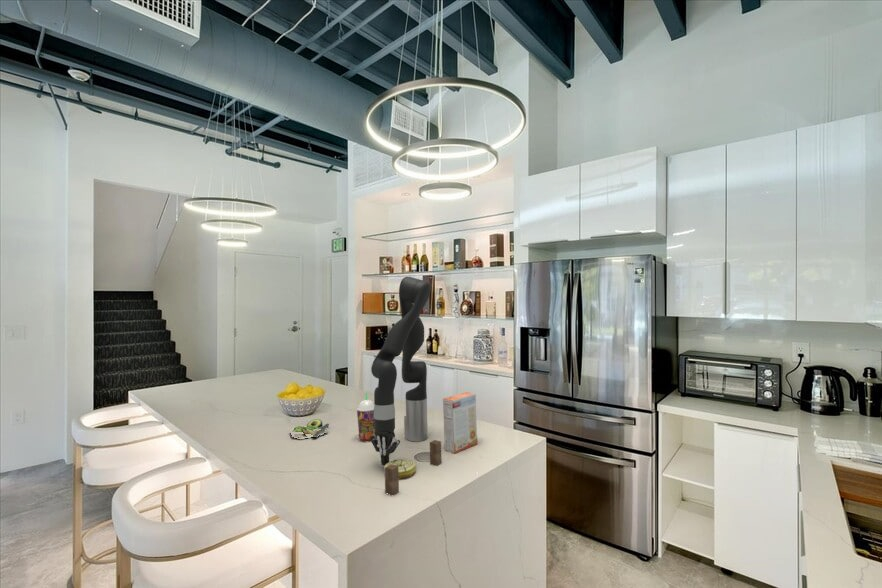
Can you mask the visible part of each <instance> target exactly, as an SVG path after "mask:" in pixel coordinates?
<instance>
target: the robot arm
mask: <svg viewBox="0 0 882 588" xmlns="http://www.w3.org/2000/svg"><path fill="white" fill-rule="evenodd" d="M430 294H431V283H429V281H426V280H423V279H419V278H417V277H413V276H404V277H403V278H402V279H401V280H400V284H399V288H398V299H399V305H400V306H399V307H400V313H401V319H399V320H398V321H397V322H396V323H394V324H393V326H392V327H391V328H390V330H389V332H388V333H387V335H386V338H385V341H384V343H383V346H382V347H381V349H379V352H378V353H377V355H376V356H375V358H374V360H373V362H372V363H371V367H370V368H371V369H370V371H371V375H373V377H374V378H375V379H378V384H377V386H376V387H375V389H374V393H373V403H374V430H375V433H374V435H373V436H371V437H370V440H371V441H370V442H371V444H372V446H373V448H374V449H375V451H376V453H379V454H380V463H381V465H382V466H383V467H385V465H386V464H387V463H388V462H390V455H391V454H393V453H394V452H395V451H396V449H397V448H398V447H399V445H400V444H401V441H400V440H399V439H397V438H396V435H395V429H396V407H395V392H394V391H395V388H396V383H397V378H398V377H397V376H398V371H397V370H398V369H397V367H396V365H395V364H394V363H393V362H394V360H395V358H396V357H400V355H401V354H402V358H401V359H402V360H401V379H402V381H403V383H405V384H417V386H416V387H414V388H411V389H409V390H408V391H406V392H405V415H404V418H403V425H404V426H403V427H404V428H403V429H404V430H403V432H404V433H403V434H404V439H406V441H410V442H422V441H426V440H427V439H428V402H427V401H428V397H427V395H428V394H427V380H428V379H427V377H428V373H427V372H428V368H427V363H426V362H425V361H423V360H421V361H420V360H419V361H417V360H416V361H412V359H413V358H414V356H415V355H416V353H417V352H419V350H420V349H421V347H422V346H423V344H424V343H425V326H424V325H425V324H424V323H423V320H422V319H421V318H420V315H421V314H422V312H423V310H424V307H425V306H426V304H427V302H428V301H429V298H430Z"/></svg>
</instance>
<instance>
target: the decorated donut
mask: <svg viewBox="0 0 882 588" xmlns="http://www.w3.org/2000/svg"><path fill="white" fill-rule="evenodd" d="M390 464H392V465H396V466H398V474H399V479H407V478H409V477H411V476H412V475H413V474H414V473H415V471H416V469H417V467H416V462H415V461H414V460H412V459H409V458H397V459H393V460H391V461H390V460H389V462H388V463H387V464H386V465H385V466H383V467H384V468H383V470H384V472H385V467H387V466H389V465H390Z"/></svg>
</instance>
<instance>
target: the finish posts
mask: <svg viewBox="0 0 882 588" xmlns="http://www.w3.org/2000/svg"><path fill="white" fill-rule="evenodd" d="M442 463H443V462H442V441H441V440H436V439H433V440H431V441H430V442H429V465H431V466H435V467H438V466H440V465H441V464H442ZM384 467H385V466H384ZM399 480H400V478H399V474H398V466H396V465H392V464H390V465H389V466H387V467H385V471H384V493H385V494H386V493H388V494H387V495H389V494H390V495H389V496H392V495H393V496H395V495H396V494H397V492H398V493H399V492H400V490H399V489H400V484H399ZM394 494H395V495H394Z"/></svg>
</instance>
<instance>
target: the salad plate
mask: <svg viewBox="0 0 882 588" xmlns="http://www.w3.org/2000/svg"><path fill="white" fill-rule="evenodd" d="M329 425H330V423H326V424H325V423H323V421H322V420H321V419H319V418H317V419H316V418H315V419H312V420H310V421H309V422H307V424H306V426H307V427H304V426H305V425H298V426H294V427H295V428H294V427H293V428H294V430H293V431H292V432H303V433H304V434H311V435H313V437H317V436H318V435H321V434H324V433H326V434H327V433H329V428H328V427H329ZM302 426H303V427H302ZM319 429H321V430H319ZM325 430H326V431H325ZM324 435H325V434H324ZM296 436H297V435H295V436H293V437H296ZM293 437H292V438H293ZM317 438H318V437H317Z"/></svg>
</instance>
